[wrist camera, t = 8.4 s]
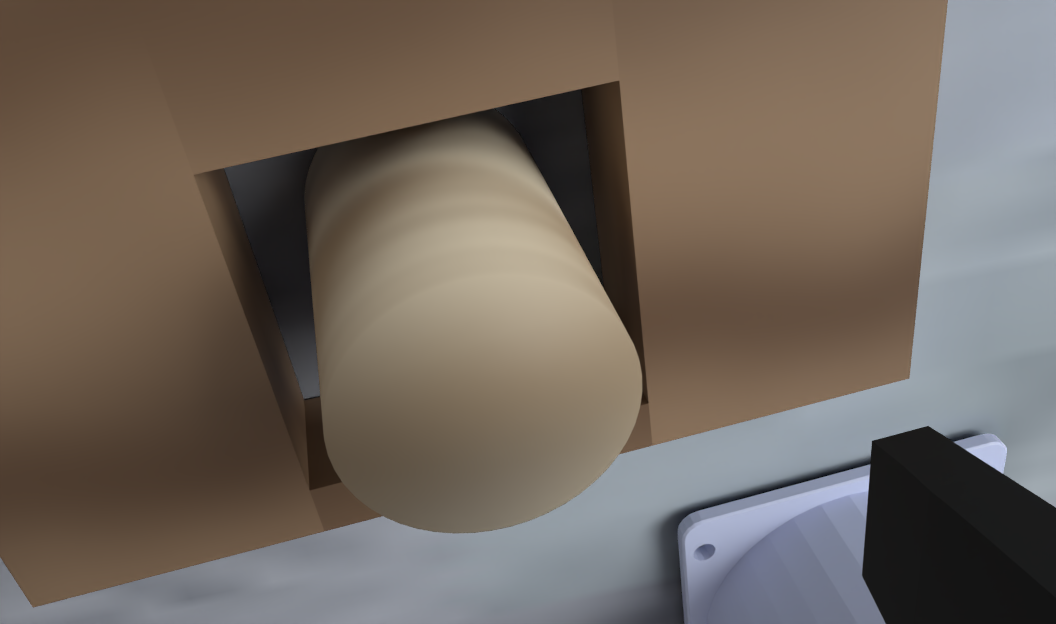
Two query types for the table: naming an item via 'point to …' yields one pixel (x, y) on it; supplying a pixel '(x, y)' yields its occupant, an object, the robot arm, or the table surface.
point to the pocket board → (390, 104)
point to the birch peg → (460, 329)
